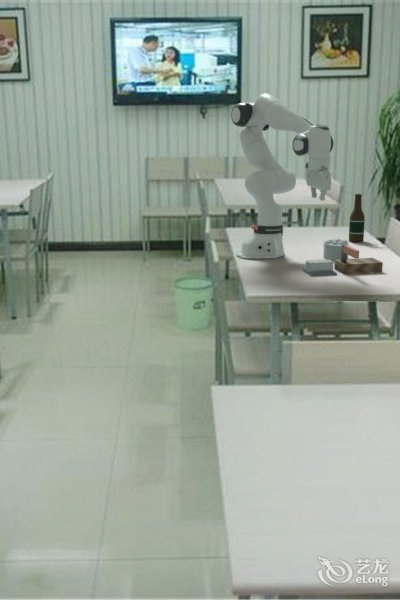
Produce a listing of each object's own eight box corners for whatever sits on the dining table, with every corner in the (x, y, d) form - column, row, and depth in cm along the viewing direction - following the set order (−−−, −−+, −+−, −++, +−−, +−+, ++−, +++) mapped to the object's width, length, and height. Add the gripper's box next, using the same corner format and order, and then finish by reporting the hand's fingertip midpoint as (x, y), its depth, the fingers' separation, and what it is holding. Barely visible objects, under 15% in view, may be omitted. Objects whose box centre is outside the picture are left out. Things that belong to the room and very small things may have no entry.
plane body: (343, 274, 283) (343, 264, 282) (334, 268, 292) (334, 259, 291) (382, 272, 286) (382, 262, 285) (372, 266, 295) (372, 257, 294)
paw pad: (344, 255, 319) (345, 237, 316) (350, 261, 306) (351, 242, 304) (321, 256, 318) (322, 237, 316) (327, 262, 306) (328, 242, 304)
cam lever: (339, 260, 288) (340, 243, 286) (345, 260, 288) (346, 243, 286) (353, 268, 274) (354, 250, 272) (359, 268, 274) (360, 250, 272)
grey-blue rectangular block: (309, 272, 283) (309, 263, 282) (305, 269, 287) (306, 260, 286) (332, 271, 284) (333, 261, 283) (328, 268, 289) (329, 259, 288)
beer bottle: (352, 239, 357) (355, 192, 351) (366, 241, 353) (369, 193, 346) (345, 241, 352) (347, 194, 345) (359, 243, 347) (362, 195, 340)
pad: (311, 276, 280) (311, 274, 280) (302, 270, 290) (302, 268, 290) (336, 274, 282) (336, 272, 282) (327, 268, 292) (327, 267, 292)
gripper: (335, 167, 275) (334, 201, 279) (318, 163, 295) (317, 196, 298) (320, 167, 274) (319, 202, 278) (304, 163, 293) (303, 196, 297)
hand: (318, 199), depth 288 cm, fingers open, 8 cm apart
